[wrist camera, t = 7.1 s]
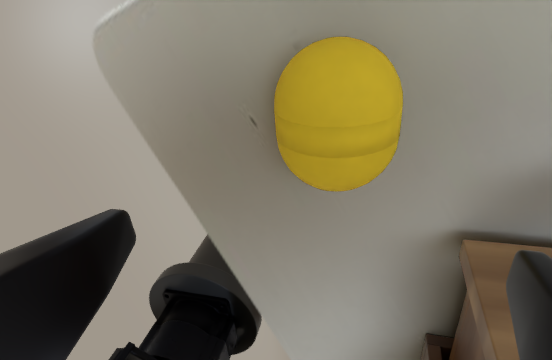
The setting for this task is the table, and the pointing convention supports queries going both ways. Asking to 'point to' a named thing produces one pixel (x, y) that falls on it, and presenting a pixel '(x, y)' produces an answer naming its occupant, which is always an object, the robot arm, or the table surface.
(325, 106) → the yellow plastic egg
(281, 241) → the table surface
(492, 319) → the drawer
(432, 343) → the cabinet
